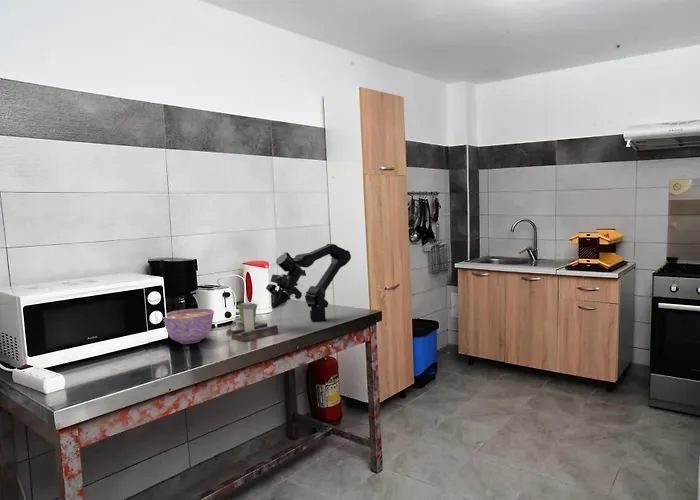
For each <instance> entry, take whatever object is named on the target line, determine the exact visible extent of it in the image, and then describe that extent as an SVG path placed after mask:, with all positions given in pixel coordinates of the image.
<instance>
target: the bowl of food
mask: <svg viewBox="0 0 700 500" xmlns="http://www.w3.org/2000/svg"><path fill="white" fill-rule="evenodd" d="M214 312H215V311H214V310H213V309H211V308H187V309H179V310H173V311H169V312H167V318H166V317H162V320H163V319H164V320H163V323H164V322H165V323H164V326H166V327H165V330H166V329H167V330H166V331H167V335H168V336H169V338H171V340H173V341H174V342H178V343H179V344H182V345H189V344H195V343H199V342H201V341H202V340H203V339H205V338H206V337H208V335H209V334H210V332H211V330H212V326H213V325H212V324H213V321H214V314H215V313H214Z"/></svg>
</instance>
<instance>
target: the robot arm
mask: <svg viewBox="0 0 700 500" xmlns="http://www.w3.org/2000/svg"><path fill="white" fill-rule="evenodd" d="M328 255H329V256H330V257H331V263H330V264H329V266H328V268H327V269H326V271H325V272H324V273H323V274H322V277H320V280H319V281H318V282H317V284H316V285H310V286H309V288H308V289H307V290H306V292H305V295H304V297H305V298H304V299H305V302H306V304H307V307H308V308H310V310H309V319H310V321H311V322H312V323H313V322H326V321H327V318H326V308H328V307H329V302H328V301H327V300H326V291H327V290H328V288H329V286H330V285H331V283H332V282H333V280H334V278H335V277H336V275H337V274H338V272H339V271H340V269H341V268H343V267H345V266H346V265H348V263H349V262H350V261H351V259H352V256H351V252H350V251H349V250H348V249H345V248H342V247H341V246H338V245H337V244H336V243H335V244H334V243H326V244H325V245H323V246H322V247H320V248H317V249H314V250H311V251H310V252H305V253H299V254H296V255H295V256H294V257H292V256H291V255H290V254H289V252H288V251H287V252H283V254H281V255H279V256H278V257H277V258H276V260H275V264H276V265H278V266H279V268H280V269H281V270H282V271H284V272H285V273H281V274H272V275H271V278H270V282H271V283H270V284H267V285H266V287H265V289H266V290H267V291H268V292H269V293H270V294H271V295H272V296H273V297H274V298H273V304H272V308H273V309H277V308H278V307H279V306H281V305H282V304H284V303H286V302H287V301H289V300H291V299H292V298H291V297H292V296H293V295H294V298H295V299H296V300H301V298H302V293H303V292H301V290H299V288H298V286H299V284H298V282H299V280H300V278H301V277H306V276H307V273H306V270H305V269H303V268H307V269H308V268H309V267H311V266H312V265H314V263H315V262H316V261H318V260H319V259H322V258H324V257H326V256H328ZM272 283H275V284H272Z"/></svg>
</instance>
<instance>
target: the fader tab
mask: <svg viewBox="0 0 700 500" xmlns="http://www.w3.org/2000/svg"><path fill="white" fill-rule="evenodd" d="M240 304H241V308H242V309H243V312H244V324H243V326H244V327H243V328H244V329H245V332H248V331H253V330H254V326H255V323H254V317H253V309H254V308H255V304H256V303H254V302H249V301H248V302H247V301H246V302H242V303H240Z"/></svg>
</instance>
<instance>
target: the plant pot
mask: <svg viewBox="0 0 700 500" xmlns="http://www.w3.org/2000/svg"><path fill="white" fill-rule="evenodd" d="M236 307H237V308H238V311H239V317H240V321H241V325H244V312H243V309H242V308H241V303H240V304H238V305H237V306H236ZM257 308H258V303H255V308H254V309H253V317H254V324H255V323H256V314H257Z"/></svg>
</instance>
